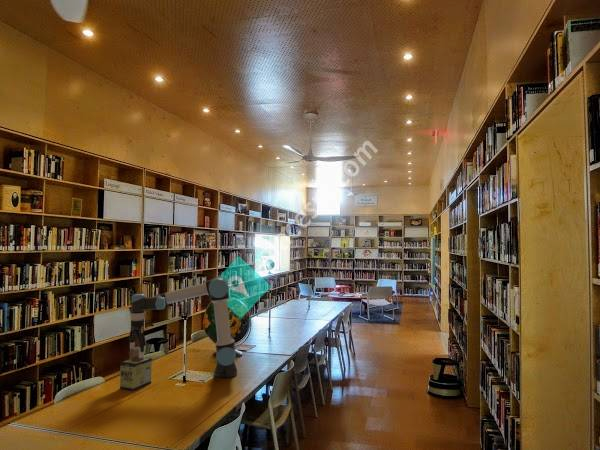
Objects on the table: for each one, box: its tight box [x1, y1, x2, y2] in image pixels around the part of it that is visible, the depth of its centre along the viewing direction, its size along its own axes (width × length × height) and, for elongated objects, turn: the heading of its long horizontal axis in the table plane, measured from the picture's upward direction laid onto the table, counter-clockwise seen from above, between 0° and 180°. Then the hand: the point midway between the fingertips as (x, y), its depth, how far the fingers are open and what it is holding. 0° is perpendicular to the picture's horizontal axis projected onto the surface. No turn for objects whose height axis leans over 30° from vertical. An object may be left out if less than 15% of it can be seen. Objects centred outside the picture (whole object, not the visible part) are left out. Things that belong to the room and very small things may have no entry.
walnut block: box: [129, 346, 145, 362], centre depth 249 cm, size 6×6×7 cm
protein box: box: [119, 356, 153, 392], centre depth 248 cm, size 10×16×16 cm
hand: (136, 355), depth 248 cm, fingers open, 13 cm apart
